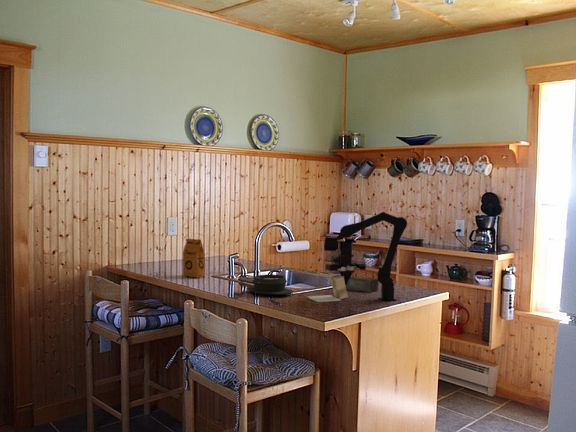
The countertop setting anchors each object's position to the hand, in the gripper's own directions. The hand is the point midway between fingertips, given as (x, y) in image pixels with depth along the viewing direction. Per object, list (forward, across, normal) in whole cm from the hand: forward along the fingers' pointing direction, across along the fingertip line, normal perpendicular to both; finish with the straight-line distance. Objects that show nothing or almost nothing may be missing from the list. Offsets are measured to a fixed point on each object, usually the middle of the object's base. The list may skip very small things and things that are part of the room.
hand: (345, 284), depth 262 cm
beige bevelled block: (+6, +2, 0) cm, 6 cm away
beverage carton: (+7, -17, -18) cm, 25 cm away
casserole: (+7, +31, -20) cm, 37 cm away
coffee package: (+7, +56, -80) cm, 98 cm away
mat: (+6, +11, 0) cm, 13 cm away
